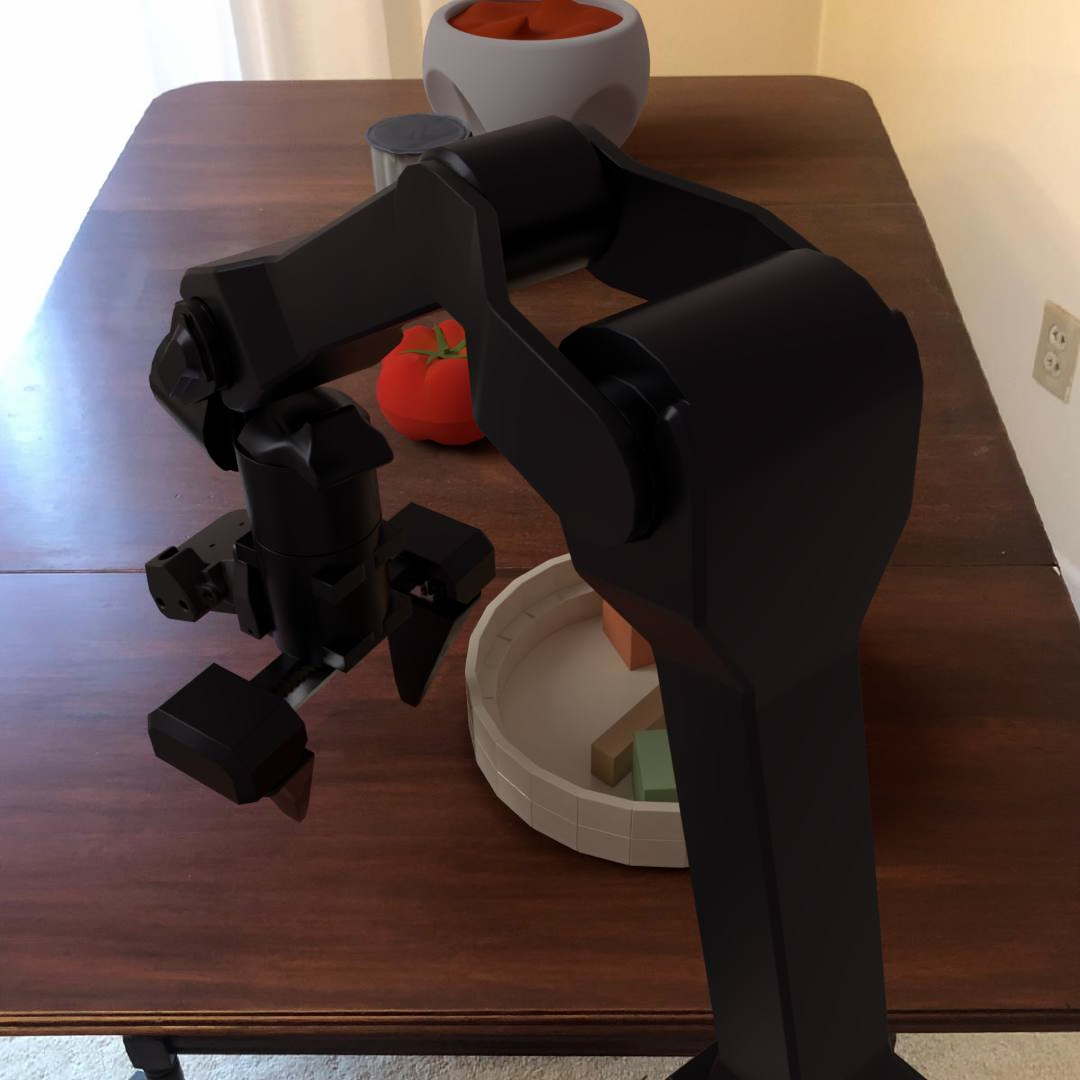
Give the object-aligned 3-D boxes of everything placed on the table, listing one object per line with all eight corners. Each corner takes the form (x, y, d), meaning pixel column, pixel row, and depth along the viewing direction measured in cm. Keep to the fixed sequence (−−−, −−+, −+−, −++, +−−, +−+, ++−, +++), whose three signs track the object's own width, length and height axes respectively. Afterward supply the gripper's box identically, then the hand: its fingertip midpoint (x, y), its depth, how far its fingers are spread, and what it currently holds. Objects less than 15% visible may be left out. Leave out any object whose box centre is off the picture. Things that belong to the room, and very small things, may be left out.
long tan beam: (739, 670, 73) (743, 641, 72) (612, 788, 66) (614, 758, 65) (718, 658, 74) (721, 629, 72) (590, 773, 67) (590, 743, 65)
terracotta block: (689, 652, 74) (693, 603, 72) (629, 671, 73) (631, 621, 71) (659, 612, 77) (662, 563, 75) (601, 629, 76) (602, 580, 74)
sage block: (717, 835, 63) (723, 784, 61) (641, 840, 63) (644, 790, 61) (704, 776, 67) (709, 725, 64) (631, 781, 66) (633, 730, 64)
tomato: (491, 473, 90) (487, 386, 86) (357, 449, 93) (346, 363, 89) (537, 400, 98) (536, 317, 94) (412, 380, 101) (405, 298, 97)
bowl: (903, 835, 64) (920, 771, 61) (506, 908, 61) (503, 844, 58) (765, 580, 80) (773, 520, 77) (446, 627, 77) (441, 566, 74)
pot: (653, 137, 144) (660, -25, 133) (636, 221, 125) (642, 41, 114) (454, 130, 147) (444, -29, 136) (408, 210, 128) (393, 34, 117)
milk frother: (475, 311, 111) (466, 150, 101) (302, 309, 111) (278, 149, 102) (487, 243, 122) (480, 93, 113) (330, 243, 122) (311, 93, 113)
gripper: (319, 374, 63) (353, 601, 73) (21, 569, 51) (109, 810, 61) (495, 437, 58) (506, 672, 68) (212, 669, 46) (274, 915, 56)
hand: (355, 756), depth 63 cm, fingers open, 9 cm apart
